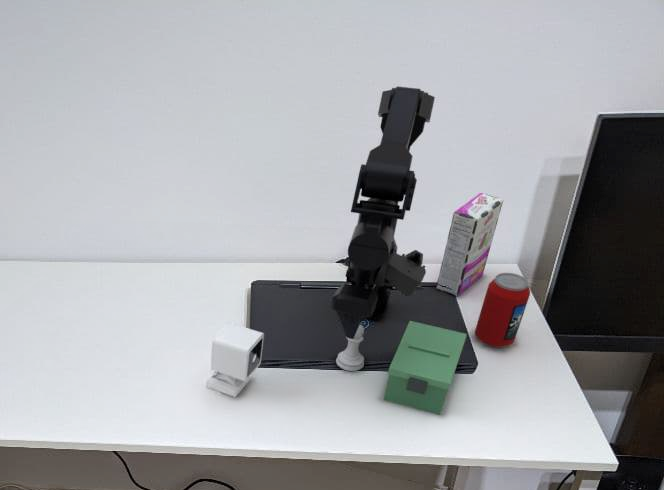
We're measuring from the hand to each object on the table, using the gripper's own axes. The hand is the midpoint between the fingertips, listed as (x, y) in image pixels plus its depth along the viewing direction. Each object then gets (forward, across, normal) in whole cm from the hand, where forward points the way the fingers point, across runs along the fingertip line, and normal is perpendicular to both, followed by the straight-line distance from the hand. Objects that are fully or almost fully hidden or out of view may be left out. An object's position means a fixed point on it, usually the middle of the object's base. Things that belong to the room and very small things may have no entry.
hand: (357, 324), depth 141 cm
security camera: (+8, -15, +16) cm, 23 cm away
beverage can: (+8, +18, -21) cm, 29 cm away
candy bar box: (+8, +36, -12) cm, 39 cm away
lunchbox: (+8, 0, -12) cm, 14 cm away
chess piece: (+8, 0, 0) cm, 8 cm away
